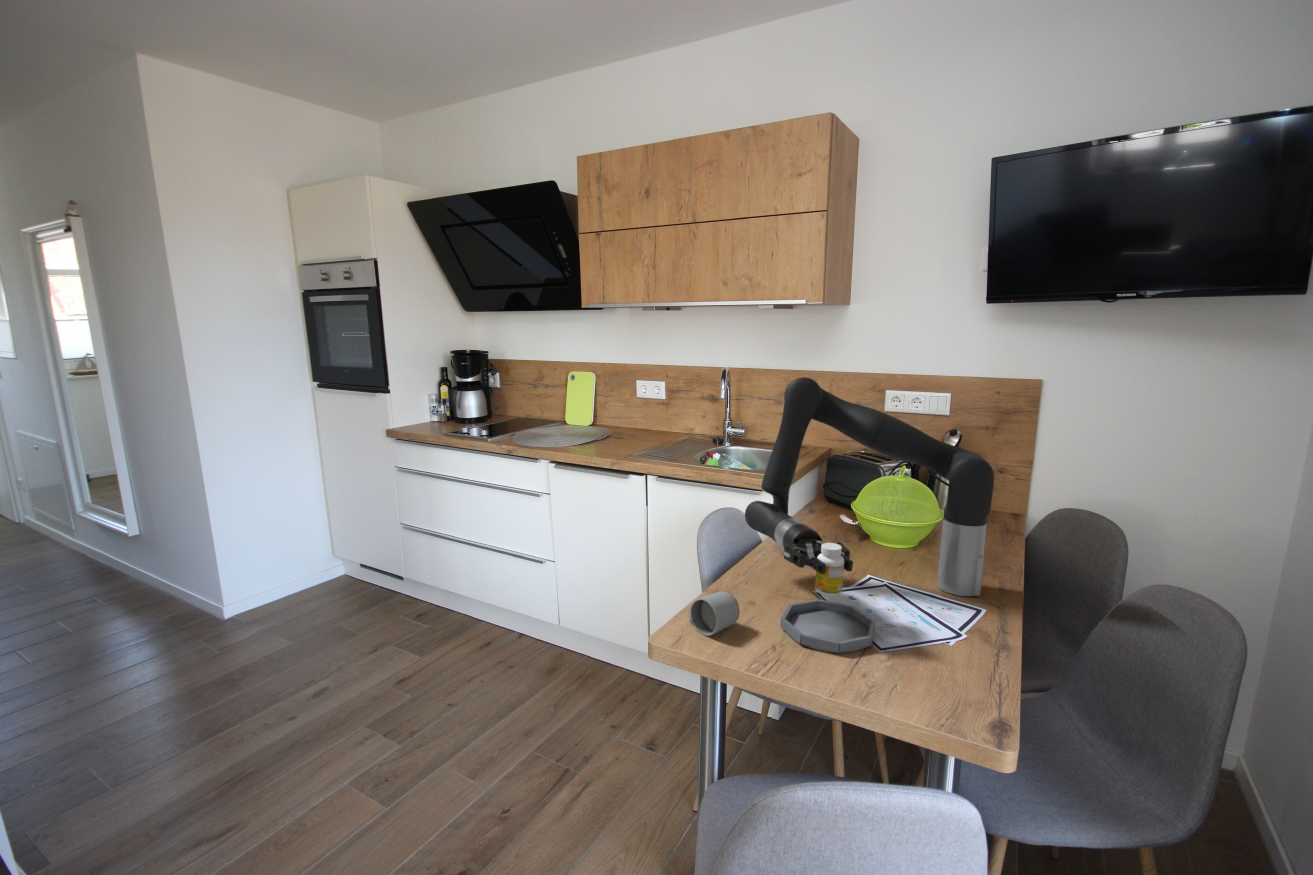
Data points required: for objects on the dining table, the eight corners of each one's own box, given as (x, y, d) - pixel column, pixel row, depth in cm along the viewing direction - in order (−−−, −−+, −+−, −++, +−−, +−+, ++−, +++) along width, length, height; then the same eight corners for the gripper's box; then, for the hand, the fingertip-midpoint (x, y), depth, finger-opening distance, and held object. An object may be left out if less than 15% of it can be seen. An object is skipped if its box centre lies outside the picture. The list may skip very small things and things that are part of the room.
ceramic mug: (742, 628, 127) (742, 593, 125) (716, 641, 121) (716, 605, 120) (704, 612, 134) (704, 579, 133) (678, 624, 129) (678, 589, 127)
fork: (896, 537, 185) (897, 531, 185) (837, 521, 199) (838, 515, 199) (901, 535, 187) (902, 529, 187) (842, 519, 201) (843, 513, 201)
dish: (877, 620, 130) (878, 610, 130) (868, 661, 114) (868, 649, 114) (793, 604, 137) (794, 594, 137) (773, 640, 121) (774, 629, 121)
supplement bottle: (811, 585, 127) (814, 541, 125) (836, 584, 127) (839, 541, 125) (820, 597, 122) (823, 551, 120) (846, 596, 122) (849, 550, 120)
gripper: (768, 525, 134) (806, 553, 118) (826, 521, 138) (870, 547, 122) (767, 557, 136) (803, 589, 120) (824, 552, 139) (867, 582, 123)
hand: (837, 568), depth 121 cm, fingers closed on supplement bottle, 5 cm apart
